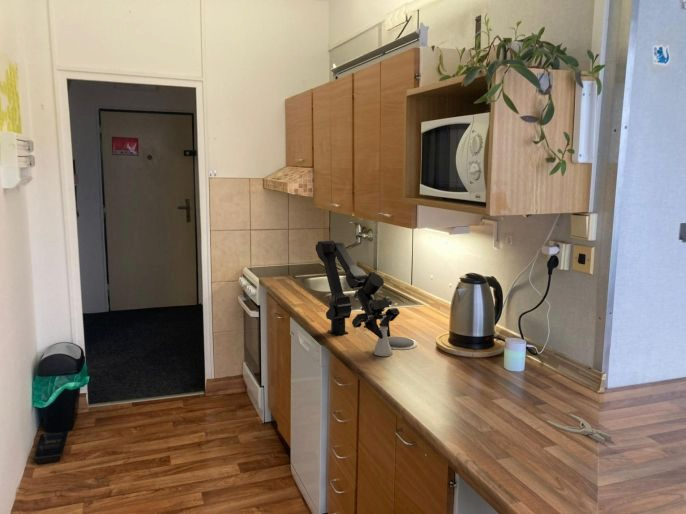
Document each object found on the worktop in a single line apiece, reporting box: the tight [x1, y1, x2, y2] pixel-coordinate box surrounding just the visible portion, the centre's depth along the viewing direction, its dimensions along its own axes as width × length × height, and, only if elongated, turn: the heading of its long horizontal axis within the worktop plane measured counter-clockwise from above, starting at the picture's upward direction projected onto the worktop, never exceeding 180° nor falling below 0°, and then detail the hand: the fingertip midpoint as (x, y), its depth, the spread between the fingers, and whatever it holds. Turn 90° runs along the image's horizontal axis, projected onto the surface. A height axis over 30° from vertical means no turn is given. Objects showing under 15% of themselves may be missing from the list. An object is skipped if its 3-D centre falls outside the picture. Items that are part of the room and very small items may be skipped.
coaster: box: [388, 336, 419, 351], centre depth 218 cm, size 15×15×1 cm
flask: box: [372, 326, 393, 357], centre depth 206 cm, size 7×7×10 cm
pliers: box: [547, 413, 613, 444], centre depth 149 cm, size 10×2×15 cm
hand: (385, 337), depth 204 cm, fingers open, 3 cm apart
